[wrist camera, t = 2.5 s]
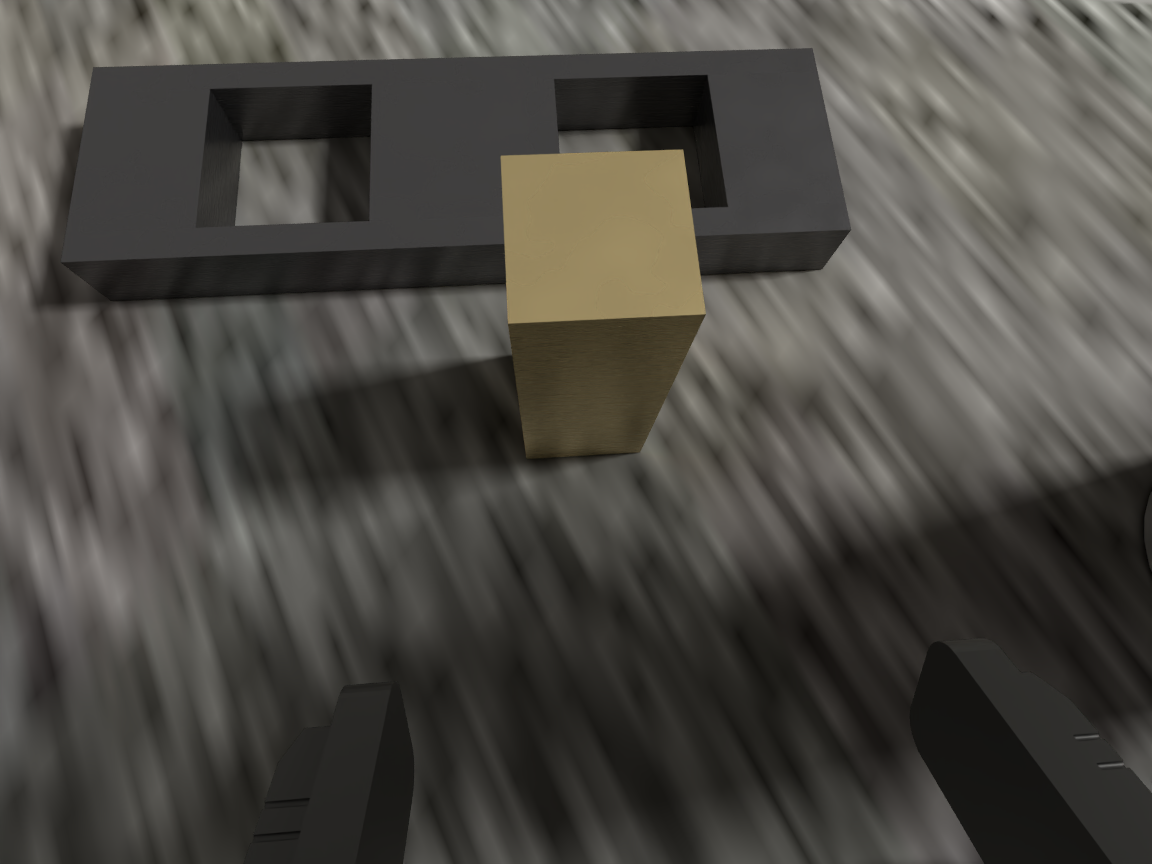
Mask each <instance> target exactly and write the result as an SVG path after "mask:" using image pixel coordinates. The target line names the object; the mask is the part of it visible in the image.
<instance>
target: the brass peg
mask: <svg viewBox="0 0 1152 864" xmlns="http://www.w3.org/2000/svg"><path fill="white" fill-rule="evenodd" d="M501 176H502V198H503V221H504V243H505V265H506V288H507V310H508V327H509V334H510V341H511V349H512V356H513V363H514V371H515V378H516V386H517V393H518V400H519V408H520V415H521V422H522V430H523V437H524V445H525V452H526V459H534V458H551V457H568V456H585V455H603V454H620V453H637V452H640V451H641V449H642V447H643V445H644V443H645V441H646V439H647V437H648V434H649V432H650V430H651V428H652V426H653V424H654V422H655V420H656V418H657V416H658V413H659V411H660V409H661V407H662V405H663V403H664V401H665V399H666V397H667V395H668V392H669V390H670V388H671V386H672V384H673V382H674V380H675V378H676V376H677V374H678V371H679V369H680V367H681V365H682V363H683V361H684V359H685V357H686V355H687V353H688V350H689V348H690V346H691V344H692V342H693V340H694V338H695V336H696V334H697V332H698V329H699V327H700V325H701V323H702V321H703V319H704V317H705V315H706V312H705V305H704V298H703V291H702V283H701V276H700V269H699V261H698V254H697V247H696V240H695V232H694V225H693V218H692V210H691V203H690V196H689V189H688V181H687V174H686V167H685V159H684V152H683V150H654V151H625V152H595V153H566V154H537V155H508V156H501Z"/></svg>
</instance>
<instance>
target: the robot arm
mask: <svg viewBox="0 0 1152 864" xmlns="http://www.w3.org/2000/svg"><path fill="white" fill-rule="evenodd" d="M1144 542H1145V546H1146V551H1147V556H1148V561H1149V566H1150V568H1151V571H1152V492H1151V494H1150V496H1149V500H1148V504H1147V508H1146V513H1145V517H1144ZM910 726H911V731H912V735H913V739H914V742H915V744H916V747H917V749H918V751H919V753H920V755H921V757H922V758H923V760H924V762H925V763H926V765H927V767H928V768H929V770H930V772H931V774H932V775H933V777H934V779H935V780H936V782H937V784H938V785H939V787H940V789H941V791H942V792H943V794H944V796H945V797H946V799H947V801H948V802H949V804H950V806H951V808H952V809H953V811H954V813H955V814H956V816H957V818H958V820H959V821H960V823H961V825H962V826H963V828H964V830H965V831H966V833H967V835H968V837H969V838H970V840H971V842H972V843H973V845H974V847H975V848H976V850H977V852H978V854H979V855H980V857H981V859H982V860H983V862H984V864H1152V793H1151V792H1150V790H1149V789H1148V788H1147V787H1146V786H1145V785H1144V784H1143V782H1142V781H1141V780H1140V779H1139V778H1138V777H1137V776H1136V774H1135V773H1134V772H1133V771H1132V770H1131V769H1130V768H1126V767H1125V766H1124V764H1123V760H1122V759H1121V757H1120V756H1119V755H1118V754H1117V753H1116V752H1115V751H1114V749H1113V748H1112V747H1111V746H1110V745H1109V744H1108V743H1107V741H1106V740H1105V739H1100V737H1099V732H1098V731H1097V730H1096V729H1095V728H1094V727H1093V725H1092V724H1091V723H1090V722H1089V721H1088V720H1087V719H1086V717H1085V716H1084V715H1083V714H1082V713H1081V712H1080V711H1079V709H1078V708H1077V707H1076V706H1075V705H1074V704H1073V703H1072V701H1071V700H1070V699H1069V698H1067V697H1066V696H1064V695H1063V694H1062V693H1060V692H1059V691H1057V690H1056V689H1055V688H1053V687H1052V686H1050V685H1049V684H1048V683H1046V682H1045V681H1043V680H1042V679H1041V678H1039V677H1038V676H1036V675H1035V674H1034V673H1032V672H1022V673H1021V672H1020V671H1019V670H1018V669H1017V668H1016V666H1015V665H1014V664H1013V663H1012V662H1011V660H1010V659H1009V658H1008V657H1007V656H1006V654H1005V653H1004V652H1003V651H1002V650H1001V648H1000V647H999V646H998V645H997V644H995V643H994V642H993V641H991V640H989V639H986V638H976V639H963V640H951V641H938V642H934V643H933V644H931V646H930V647H929V649H928V652H927V655H926V658H925V662H924V665H923V668H922V672H921V675H920V678H919V682H918V685H917V688H916V692H915V695H914V698H913V702H912V705H911V709H910ZM413 786H414V755H413V747H412V742H411V737H410V733H409V728H408V723H407V718H406V714H405V709H404V704H403V699H402V694H401V690H400V686H399V684H398V682H396V681H395V682H382V683H369V684H356V685H346V686H344V687H343V689H342V690H341V693H340V695H339V698H338V702H337V705H336V709H335V712H334V716H333V719H332V723H331V726H325V727H313V728H304V730H303V731H302V732H301V734H300V735H299V736H298V738H297V739H296V740H295V741H294V743H293V744H292V745H291V747H290V748H289V749H288V751H287V752H286V753H285V754H284V756H283V757H282V758H281V760H280V761H279V762H278V765H277V768H276V770H275V773H274V776H273V779H272V782H271V785H270V788H269V791H268V794H267V797H266V800H265V808H264V809H263V810H262V811H261V814H260V817H259V820H258V823H257V826H256V829H255V832H254V834H253V835H254V840H253V843H250V846H249V849H248V852H247V855H246V858H245V861H244V864H403V859H404V852H405V845H406V838H407V831H408V824H409V817H410V810H411V803H412V796H413Z"/></svg>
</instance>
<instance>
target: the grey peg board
mask: <svg viewBox="0 0 1152 864" xmlns="http://www.w3.org/2000/svg"><path fill="white" fill-rule="evenodd" d="M672 126H693V127H694V134H695V141H696V148H697V155H698V162H699V169H700V176H701V182H702V189H703V196H704V203H705V208H691V210H692V218H693V225H694V232H695V240H696V247H697V254H698V261H699V269H700V275H702V274H725V273H747V272H770V271H792V270H815V269H823V267H824V266H825V265H826V263H827V262H828V260H829V259H830V258H831V256H832V255H833V254H834V252H835V251H836V250H837V248H838V247H839V245H840V244H841V243H842V241H843V240H844V239H845V237H846V236H847V235H848V233H849V232H850V230H851V227H850V222H849V217H848V213H847V208H846V203H845V199H844V194H843V189H842V185H841V180H840V175H839V170H838V166H837V161H836V156H835V152H834V147H833V142H832V138H831V133H830V128H829V124H828V119H827V114H826V109H825V105H824V100H823V95H822V91H821V86H820V81H819V77H818V72H817V67H816V63H815V58H814V53H813V48H805V49H768V50H730V51H692V52H655V53H617V54H579V55H542V56H504V57H466V58H429V59H391V60H353V61H316V62H278V63H240V64H203V65H165V66H127V67H93V72H92V78H91V84H90V90H89V96H88V102H87V108H86V114H85V120H84V126H83V132H82V138H81V144H80V150H79V156H78V162H77V168H76V174H75V179H74V185H73V191H72V197H71V203H70V209H69V215H68V221H67V227H66V233H65V239H64V245H63V251H62V257H61V263H62V264H64V265H65V266H66V267H67V268H69V269H70V270H71V271H73V272H74V273H75V274H77V275H78V276H79V277H80V278H82V279H83V280H84V281H86V282H87V283H88V284H90V285H91V286H92V287H94V288H95V289H96V290H97V291H99V292H100V293H101V294H103V295H104V296H105V297H107V298H108V299H109V300H110V301H115V300H138V299H161V298H183V297H206V296H228V295H251V294H273V293H296V292H319V291H341V290H364V289H386V288H409V287H431V286H454V285H477V284H499V283H506V265H505V243H504V221H503V198H502V176H501V156H508V155H537V154H559V140H558V130H580V129H610V128H641V127H672ZM364 136H371V157H370V205H369V221H355V222H330V223H304V224H279V225H253V226H235V217H236V205H237V194H238V182H239V170H240V159H241V147H242V140H272V139H302V138H333V137H364Z"/></svg>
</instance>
